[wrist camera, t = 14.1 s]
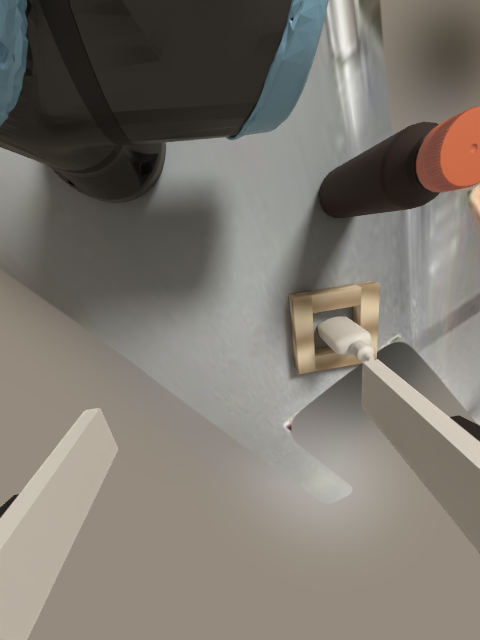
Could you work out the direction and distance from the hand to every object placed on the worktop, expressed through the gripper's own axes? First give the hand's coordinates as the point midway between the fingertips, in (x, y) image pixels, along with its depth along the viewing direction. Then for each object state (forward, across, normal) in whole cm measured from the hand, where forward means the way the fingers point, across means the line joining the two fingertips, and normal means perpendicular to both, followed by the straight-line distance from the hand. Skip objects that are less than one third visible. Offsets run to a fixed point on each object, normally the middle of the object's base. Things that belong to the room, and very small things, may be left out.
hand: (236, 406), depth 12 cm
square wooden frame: (+29, +17, -10) cm, 35 cm away
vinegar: (+29, +19, +11) cm, 36 cm away
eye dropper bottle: (+29, +17, -10) cm, 35 cm away
